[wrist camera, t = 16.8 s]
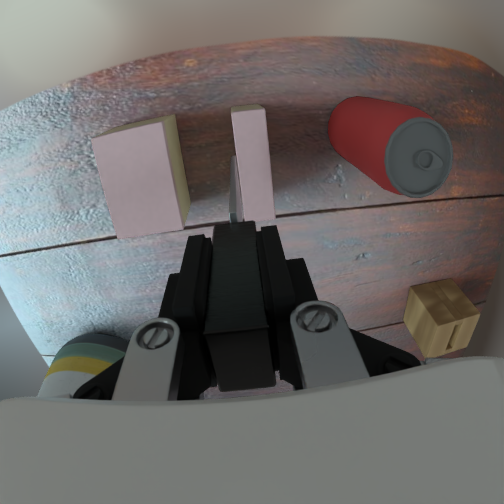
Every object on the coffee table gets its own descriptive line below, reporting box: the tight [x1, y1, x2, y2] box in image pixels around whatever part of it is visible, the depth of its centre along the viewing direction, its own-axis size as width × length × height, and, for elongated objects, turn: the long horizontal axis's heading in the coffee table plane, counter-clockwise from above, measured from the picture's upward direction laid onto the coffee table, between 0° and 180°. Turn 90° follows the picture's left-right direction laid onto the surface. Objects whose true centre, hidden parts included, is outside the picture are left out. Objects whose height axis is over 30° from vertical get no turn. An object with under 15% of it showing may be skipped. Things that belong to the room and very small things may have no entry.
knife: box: [202, 156, 276, 392], centre depth 15 cm, size 2×3×16 cm, turn 7°
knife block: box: [403, 278, 480, 358], centre depth 37 cm, size 7×6×8 cm
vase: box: [37, 334, 129, 397], centre depth 32 cm, size 17×17×24 cm
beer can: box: [328, 96, 453, 198], centre depth 23 cm, size 7×7×12 cm
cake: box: [91, 114, 191, 239], centre depth 27 cm, size 6×9×6 cm, turn 6°
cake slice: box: [231, 104, 276, 222], centre depth 27 cm, size 2×9×6 cm, turn 6°
